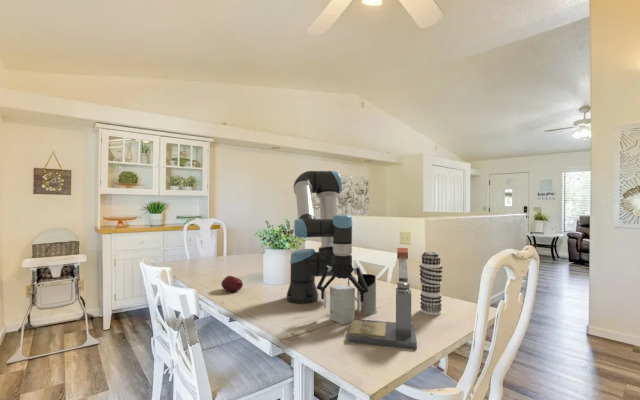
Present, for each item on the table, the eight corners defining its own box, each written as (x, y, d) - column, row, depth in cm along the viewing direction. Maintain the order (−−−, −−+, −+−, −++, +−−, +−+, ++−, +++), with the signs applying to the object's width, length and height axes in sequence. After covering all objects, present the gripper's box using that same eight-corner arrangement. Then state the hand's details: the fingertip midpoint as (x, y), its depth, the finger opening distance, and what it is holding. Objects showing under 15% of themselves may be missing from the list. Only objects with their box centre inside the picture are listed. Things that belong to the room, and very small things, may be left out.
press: (347, 342, 107) (347, 293, 107) (353, 324, 123) (354, 282, 123) (416, 349, 102) (416, 298, 102) (414, 329, 118) (414, 285, 118)
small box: (355, 321, 126) (355, 287, 126) (343, 325, 122) (343, 290, 122) (340, 315, 132) (341, 283, 132) (329, 319, 128) (329, 286, 128)
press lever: (397, 290, 111) (397, 282, 109) (397, 255, 130) (397, 247, 129) (409, 291, 110) (409, 283, 108) (407, 255, 129) (407, 248, 128)
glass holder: (369, 316, 131) (369, 279, 131) (342, 308, 141) (342, 274, 141) (380, 311, 137) (381, 275, 138) (354, 303, 147) (354, 271, 147)
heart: (226, 293, 159) (243, 293, 166) (228, 278, 160) (245, 277, 167) (215, 289, 168) (233, 288, 175) (217, 274, 169) (234, 274, 176)
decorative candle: (439, 316, 131) (440, 255, 131) (416, 312, 136) (417, 253, 136) (444, 310, 139) (444, 252, 139) (422, 306, 144) (422, 250, 144)
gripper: (309, 254, 126) (309, 309, 126) (373, 256, 120) (373, 314, 120) (314, 251, 133) (313, 303, 133) (375, 254, 128) (375, 308, 127)
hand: (342, 308), depth 126 cm, fingers open, 13 cm apart
